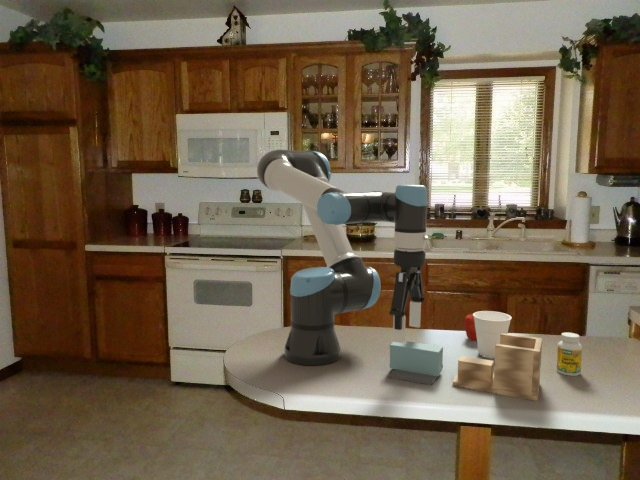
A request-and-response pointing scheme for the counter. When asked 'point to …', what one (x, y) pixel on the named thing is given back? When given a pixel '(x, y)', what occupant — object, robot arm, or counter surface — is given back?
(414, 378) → the mat
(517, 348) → the cradle
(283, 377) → the counter surface
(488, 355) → the cup
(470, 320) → the apple
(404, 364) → the bar
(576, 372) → the supplement bottle
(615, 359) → the counter surface
